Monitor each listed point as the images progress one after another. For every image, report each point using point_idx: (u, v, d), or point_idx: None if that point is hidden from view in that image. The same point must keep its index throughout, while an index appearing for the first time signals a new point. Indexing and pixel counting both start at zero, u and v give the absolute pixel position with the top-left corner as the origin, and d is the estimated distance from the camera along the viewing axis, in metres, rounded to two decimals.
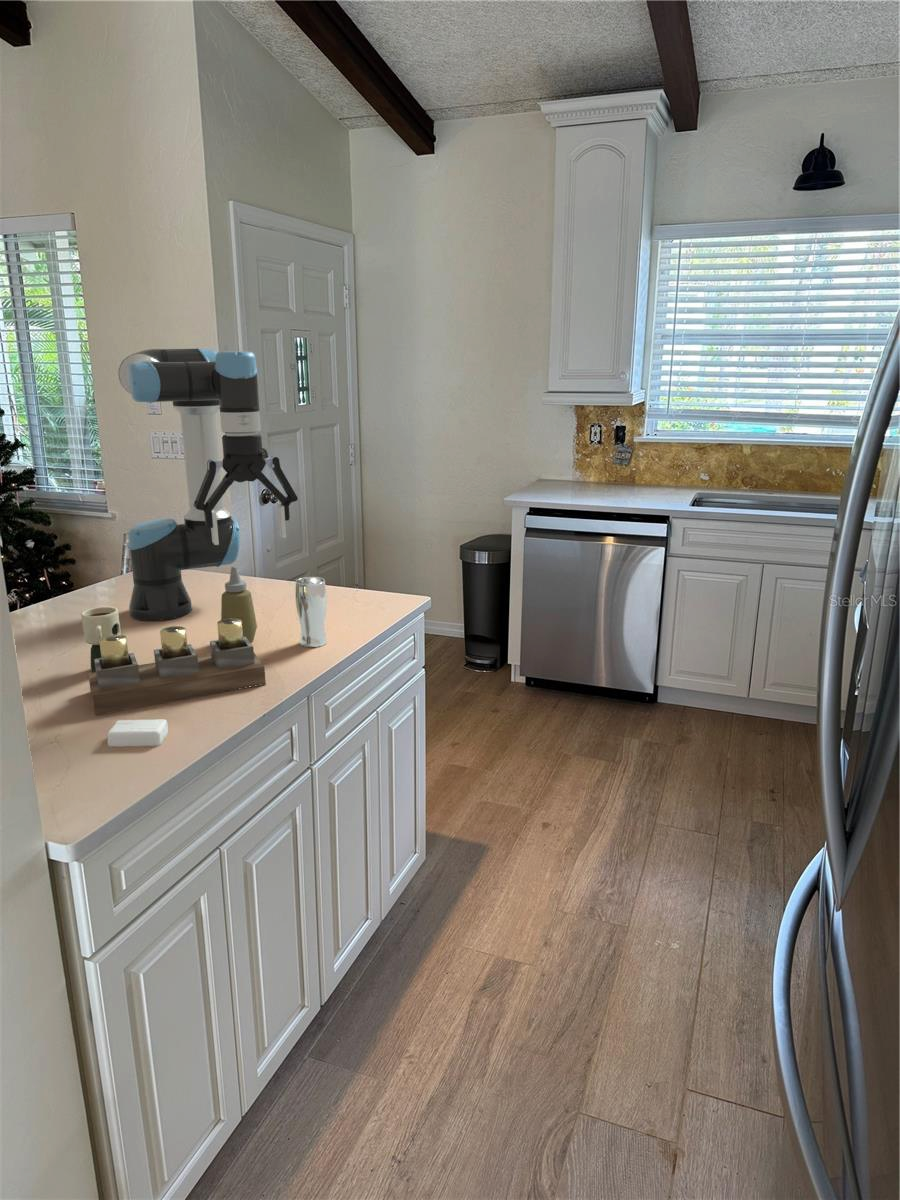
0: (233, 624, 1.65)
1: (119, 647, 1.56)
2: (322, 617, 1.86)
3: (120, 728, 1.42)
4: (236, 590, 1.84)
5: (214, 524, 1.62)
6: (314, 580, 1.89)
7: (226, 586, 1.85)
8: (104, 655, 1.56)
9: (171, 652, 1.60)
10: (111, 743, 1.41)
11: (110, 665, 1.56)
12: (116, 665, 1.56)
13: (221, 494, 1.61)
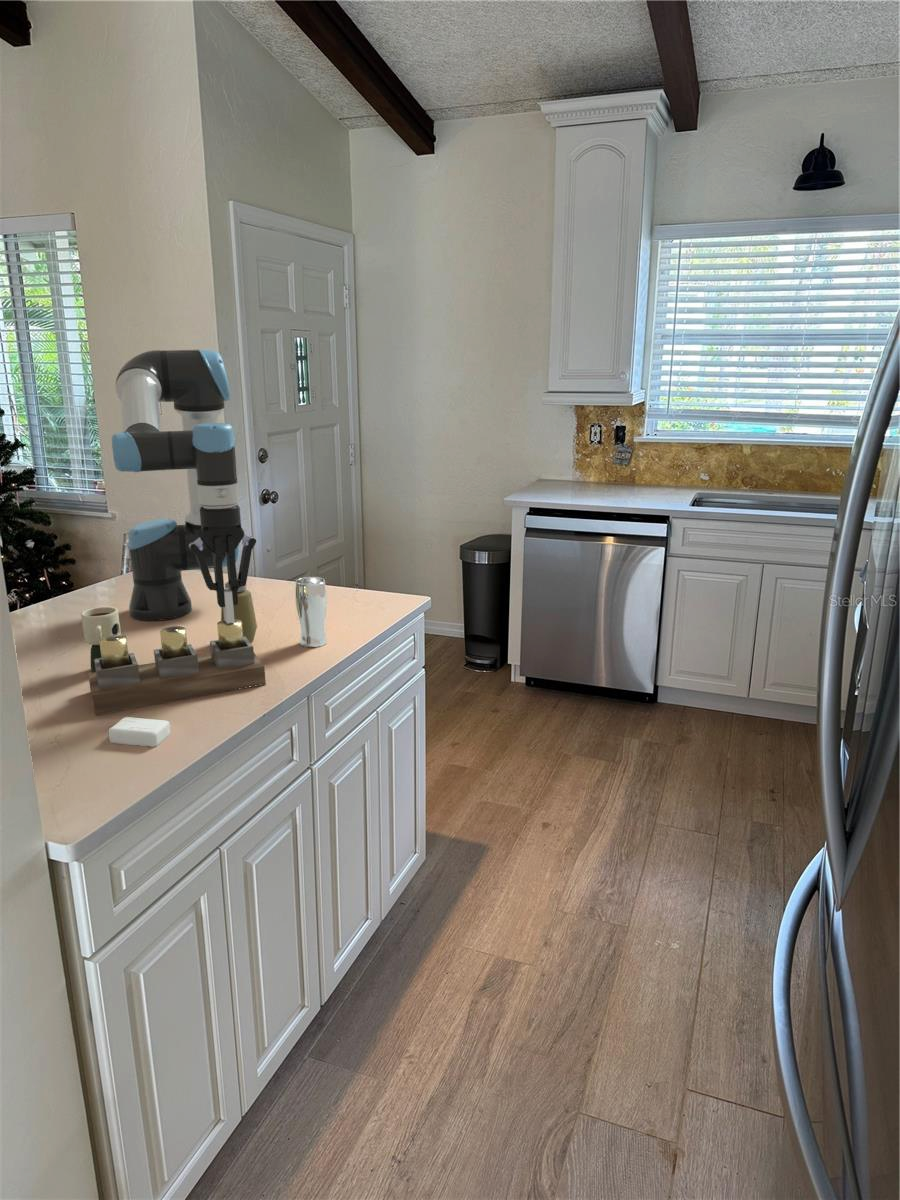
0: (233, 625, 1.65)
1: (119, 647, 1.56)
2: (322, 617, 1.86)
3: (123, 725, 1.43)
4: None
5: (226, 603, 1.63)
6: (314, 580, 1.89)
7: (226, 586, 1.85)
8: (104, 655, 1.56)
9: (171, 652, 1.60)
10: (112, 739, 1.42)
11: (110, 665, 1.56)
12: (116, 665, 1.56)
13: (221, 570, 1.61)
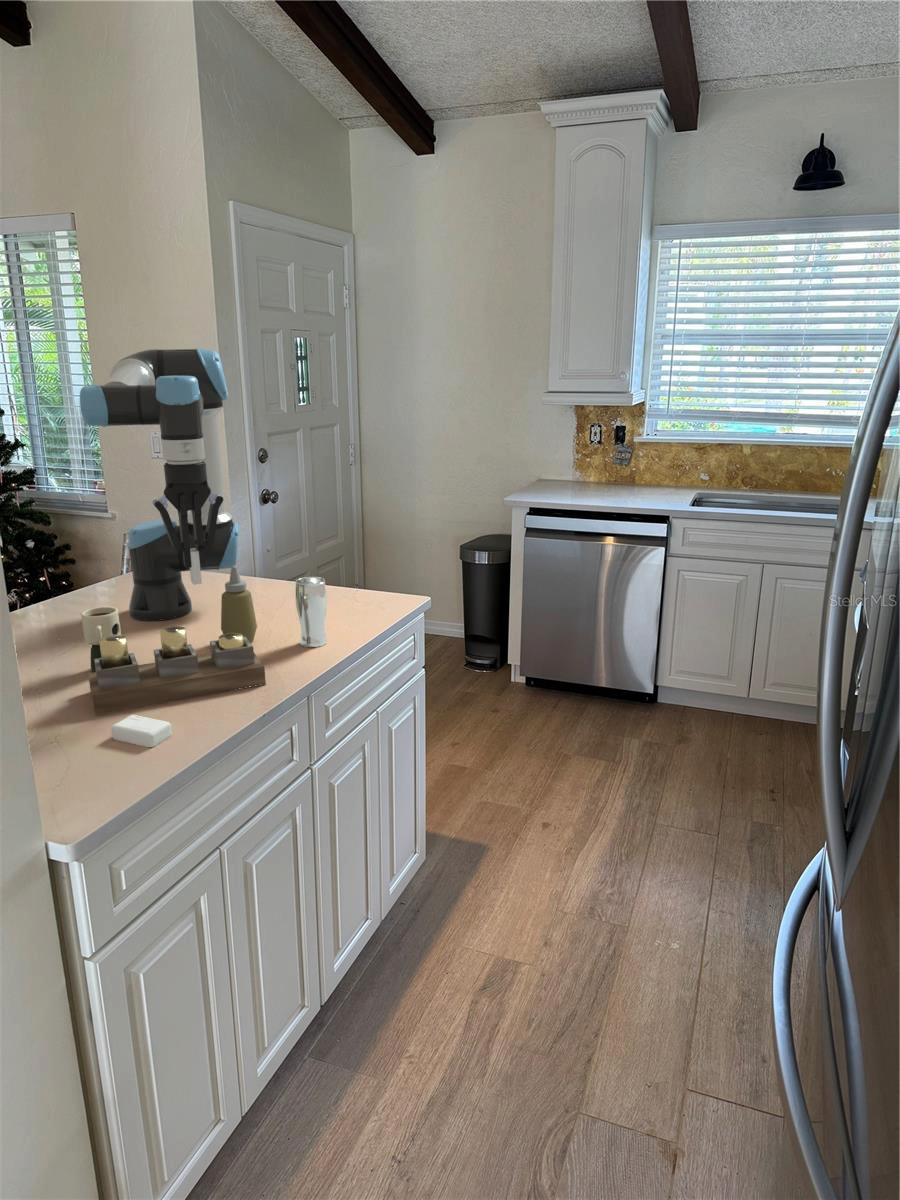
0: (234, 639, 1.66)
1: (119, 647, 1.56)
2: (322, 617, 1.86)
3: (125, 723, 1.44)
4: (236, 590, 1.84)
5: (193, 563, 1.58)
6: (314, 580, 1.89)
7: (226, 586, 1.85)
8: (104, 655, 1.56)
9: (171, 652, 1.60)
10: (114, 736, 1.43)
11: (110, 665, 1.56)
12: (116, 665, 1.56)
13: (186, 529, 1.56)
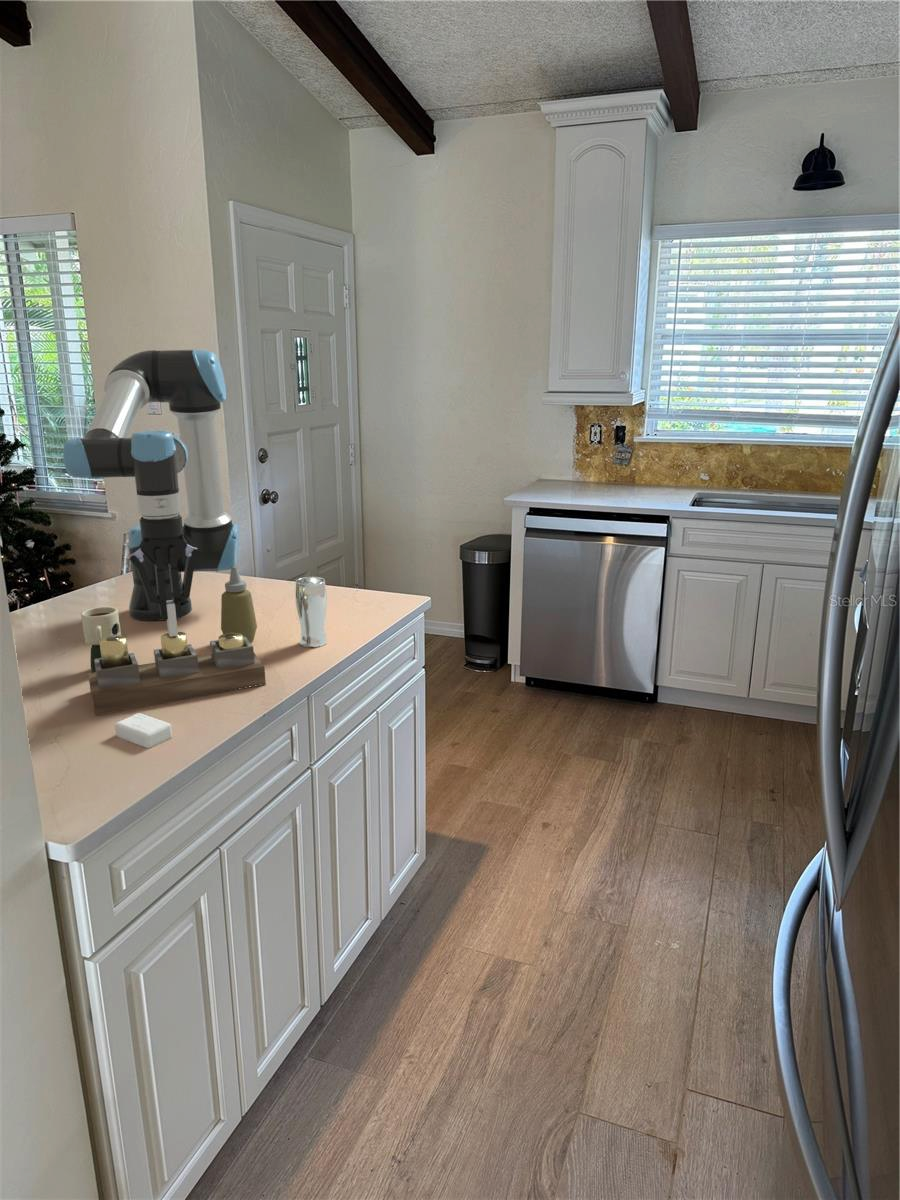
0: (234, 639, 1.66)
1: (119, 647, 1.56)
2: (322, 617, 1.86)
3: (128, 721, 1.45)
4: (236, 590, 1.84)
5: (169, 616, 1.59)
6: (314, 580, 1.89)
7: (226, 586, 1.85)
8: (104, 655, 1.56)
9: None
10: (117, 734, 1.44)
11: (110, 665, 1.56)
12: (116, 665, 1.56)
13: (162, 582, 1.57)
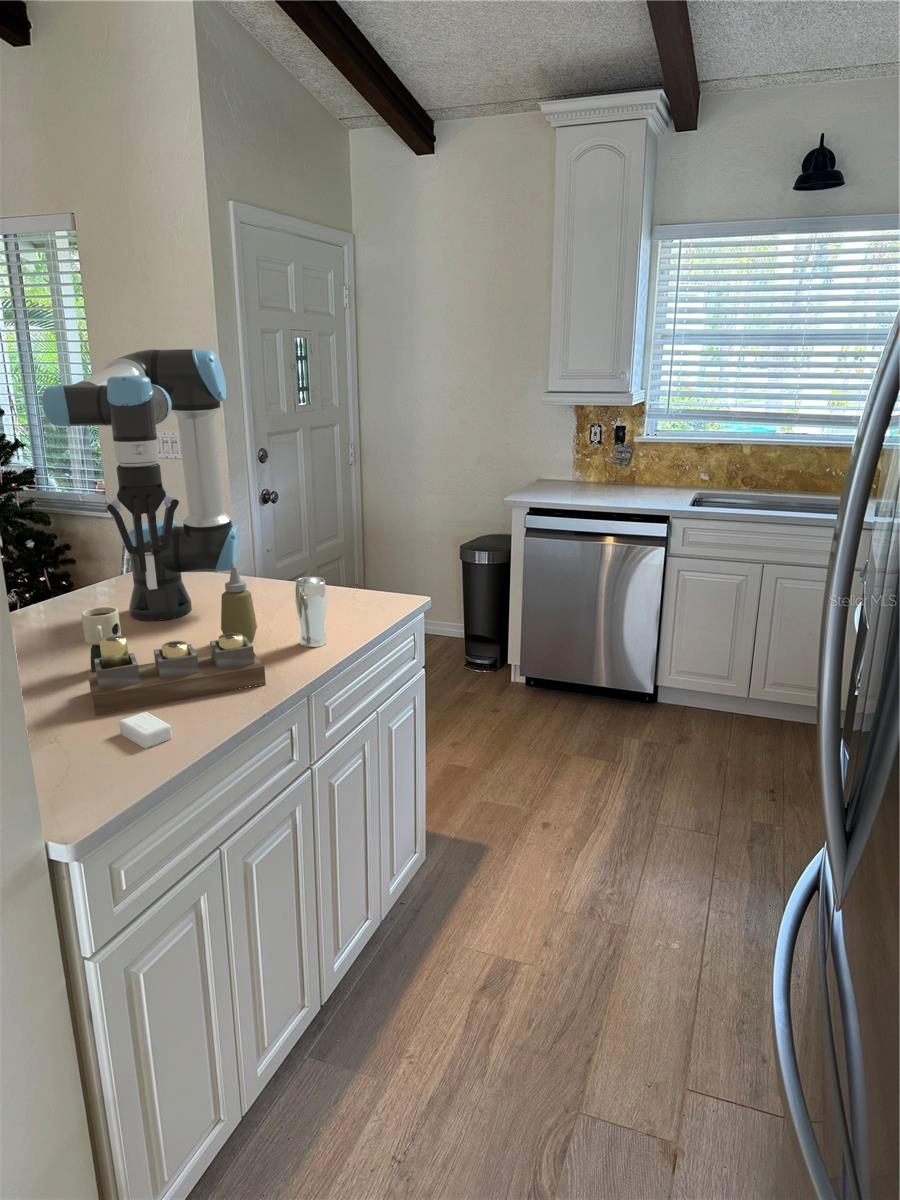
0: (234, 639, 1.66)
1: (119, 647, 1.56)
2: (322, 617, 1.86)
3: (132, 720, 1.45)
4: (236, 590, 1.84)
5: (148, 568, 1.55)
6: (314, 580, 1.89)
7: (226, 586, 1.85)
8: (104, 655, 1.56)
9: None
10: (121, 731, 1.45)
11: (110, 665, 1.56)
12: (116, 665, 1.56)
13: (141, 533, 1.53)
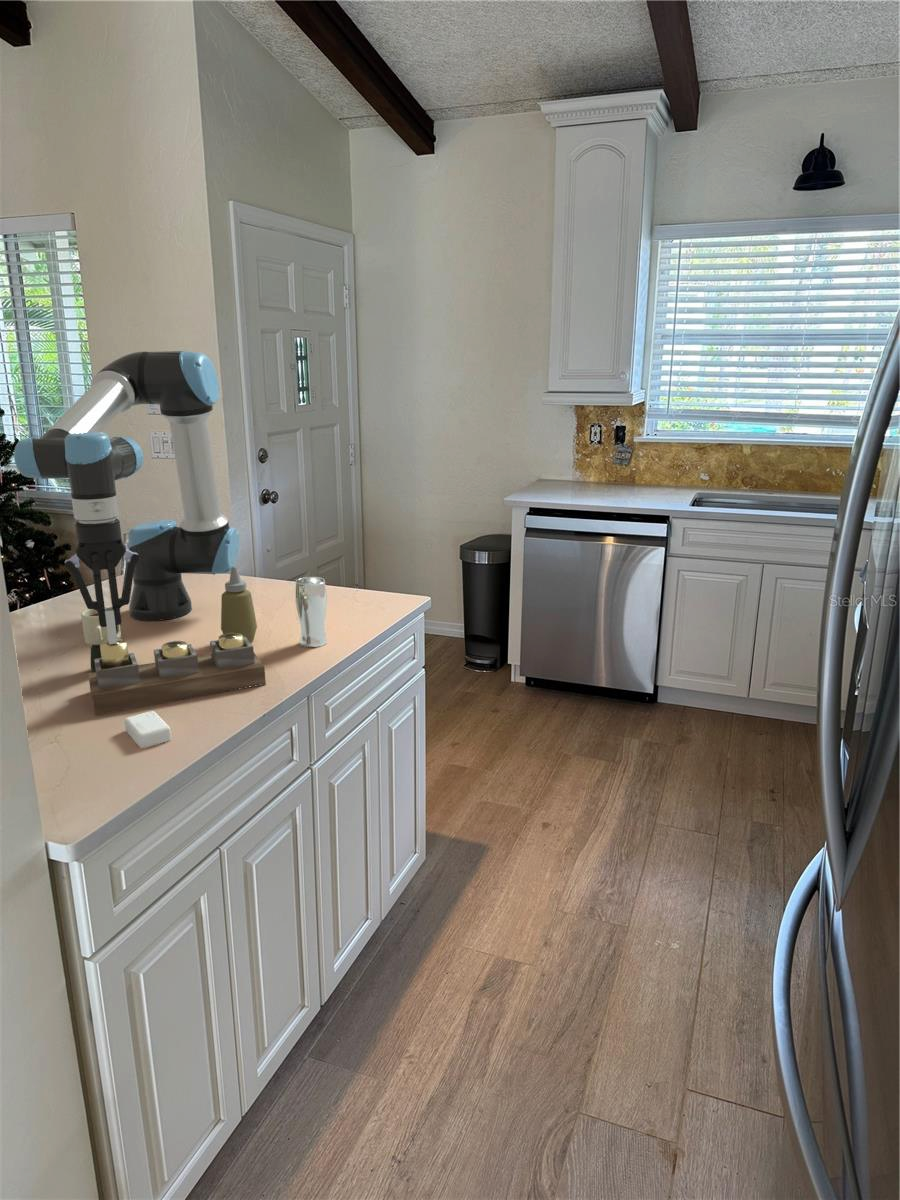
0: (234, 639, 1.66)
1: (119, 651, 1.56)
2: (322, 617, 1.86)
3: (136, 718, 1.46)
4: (236, 590, 1.84)
5: (107, 623, 1.54)
6: (314, 580, 1.89)
7: (226, 586, 1.85)
8: (104, 660, 1.56)
9: None
10: (126, 728, 1.46)
11: None
12: None
13: (100, 588, 1.52)
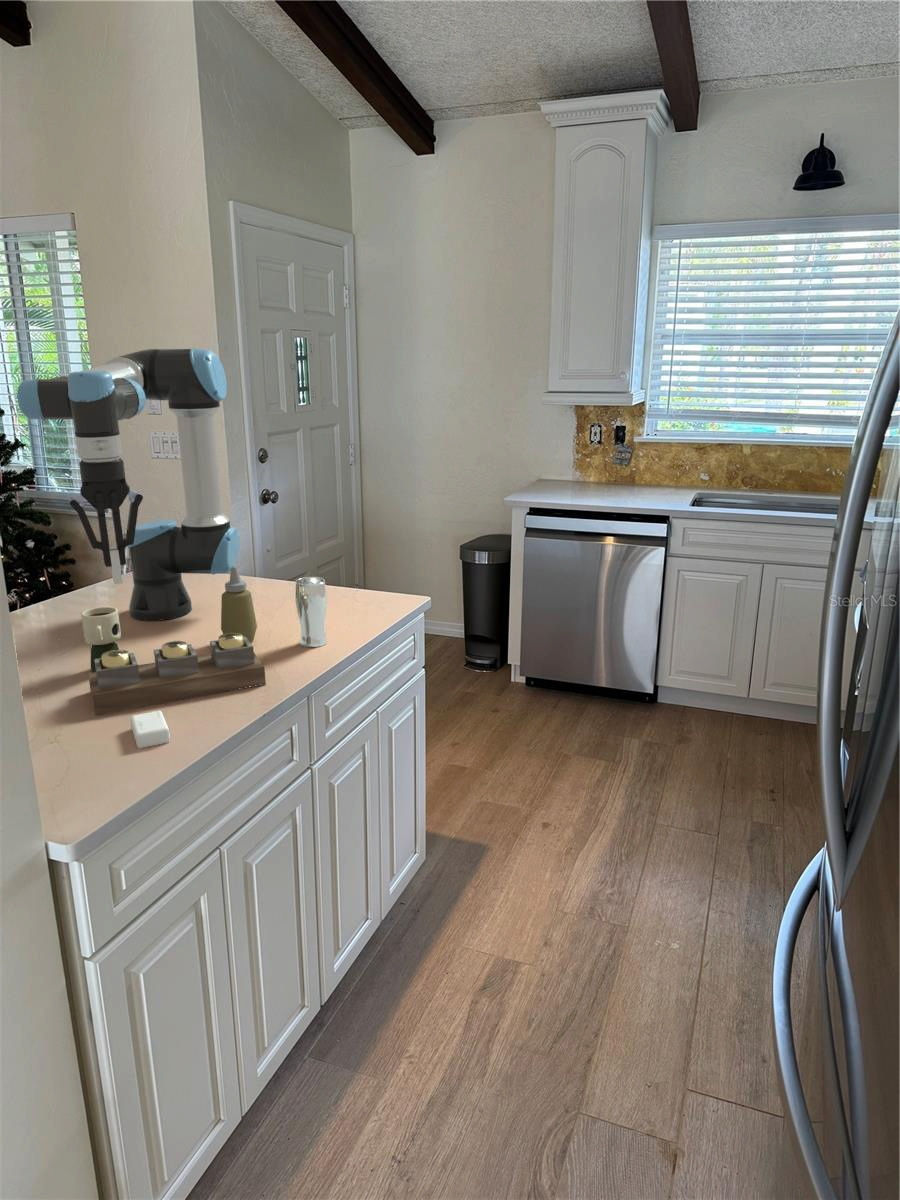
0: (234, 639, 1.66)
1: (121, 662, 1.56)
2: (322, 617, 1.86)
3: (141, 717, 1.46)
4: (236, 590, 1.84)
5: (112, 563, 1.56)
6: (314, 580, 1.89)
7: (226, 586, 1.85)
8: None
9: None
10: (131, 726, 1.47)
11: None
12: None
13: (105, 528, 1.53)
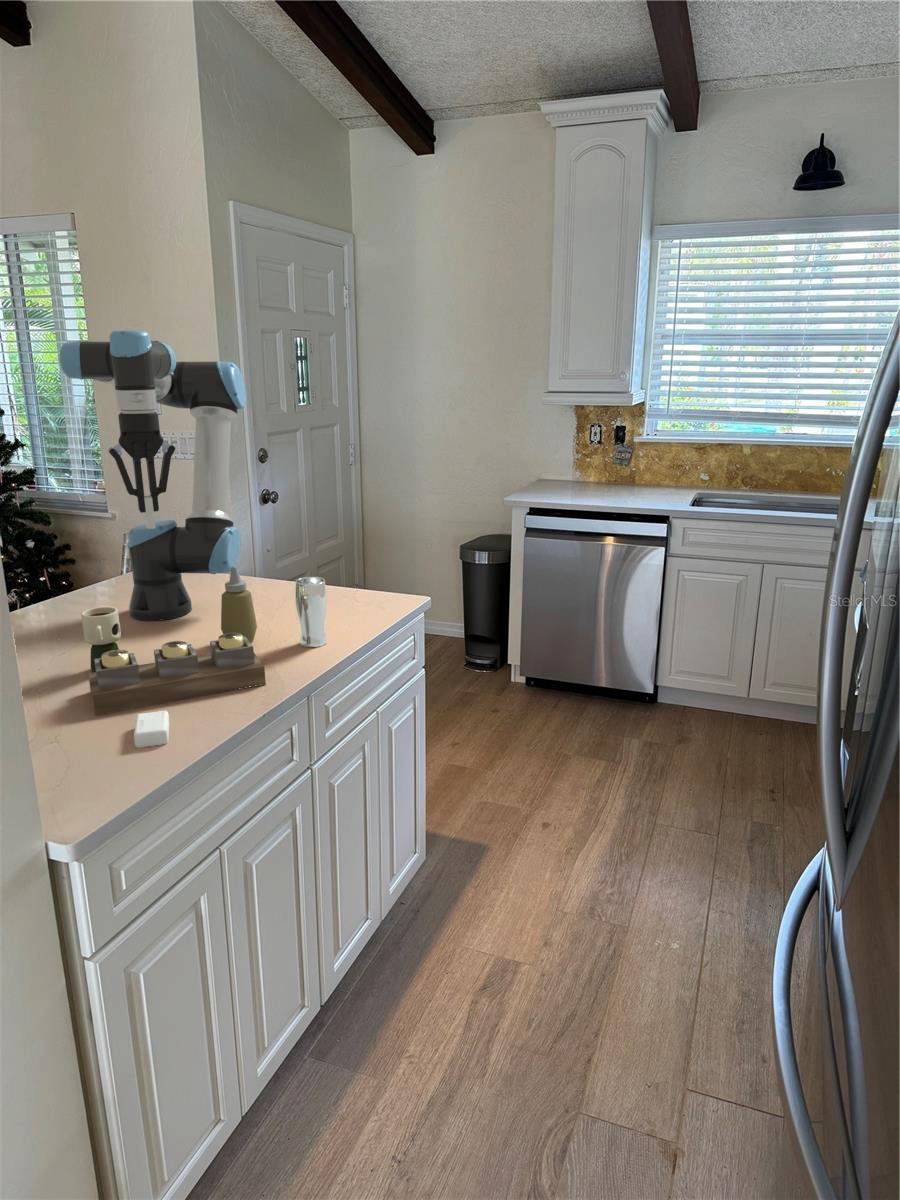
0: (234, 639, 1.66)
1: (121, 662, 1.56)
2: (322, 617, 1.86)
3: (146, 716, 1.47)
4: (236, 590, 1.84)
5: (146, 509, 1.69)
6: (314, 580, 1.89)
7: (226, 586, 1.85)
8: None
9: None
10: None
11: None
12: None
13: (140, 475, 1.67)
